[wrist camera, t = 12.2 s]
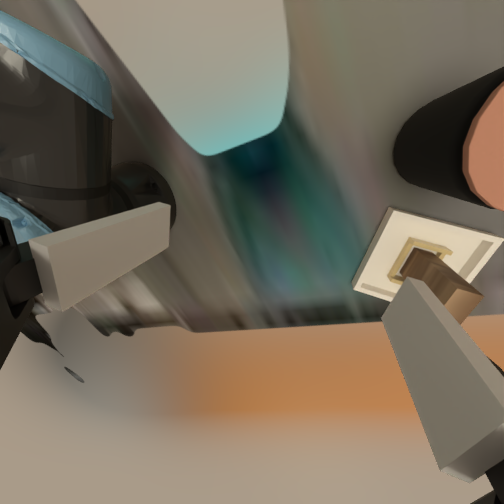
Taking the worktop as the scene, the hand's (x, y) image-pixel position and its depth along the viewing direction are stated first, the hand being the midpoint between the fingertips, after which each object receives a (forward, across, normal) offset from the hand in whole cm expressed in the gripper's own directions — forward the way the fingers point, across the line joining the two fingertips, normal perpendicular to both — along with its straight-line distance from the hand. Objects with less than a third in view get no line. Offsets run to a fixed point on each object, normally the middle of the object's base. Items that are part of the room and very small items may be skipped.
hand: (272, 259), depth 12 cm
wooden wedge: (+26, +20, -6) cm, 33 cm away
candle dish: (+27, +20, -6) cm, 34 cm away
